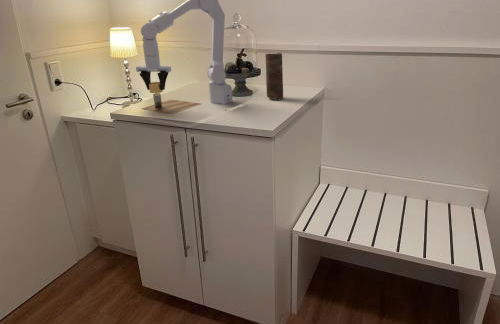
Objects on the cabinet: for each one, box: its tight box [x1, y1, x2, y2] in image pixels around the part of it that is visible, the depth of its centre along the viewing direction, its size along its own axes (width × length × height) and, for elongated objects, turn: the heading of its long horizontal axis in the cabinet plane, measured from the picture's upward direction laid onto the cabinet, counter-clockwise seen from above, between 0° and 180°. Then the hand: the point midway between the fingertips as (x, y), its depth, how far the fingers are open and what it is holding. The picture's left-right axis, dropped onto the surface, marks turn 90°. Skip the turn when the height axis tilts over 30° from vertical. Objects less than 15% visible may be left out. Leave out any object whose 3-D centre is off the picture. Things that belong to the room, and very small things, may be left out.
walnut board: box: [140, 99, 201, 115], centre depth 158 cm, size 18×18×1 cm
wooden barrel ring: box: [148, 81, 164, 94], centre depth 154 cm, size 5×5×4 cm
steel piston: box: [152, 92, 163, 108], centre depth 156 cm, size 3×3×6 cm
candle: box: [265, 52, 284, 101], centre depth 164 cm, size 8×7×20 cm
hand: (156, 89), depth 154 cm, fingers closed on wooden barrel ring, 5 cm apart
